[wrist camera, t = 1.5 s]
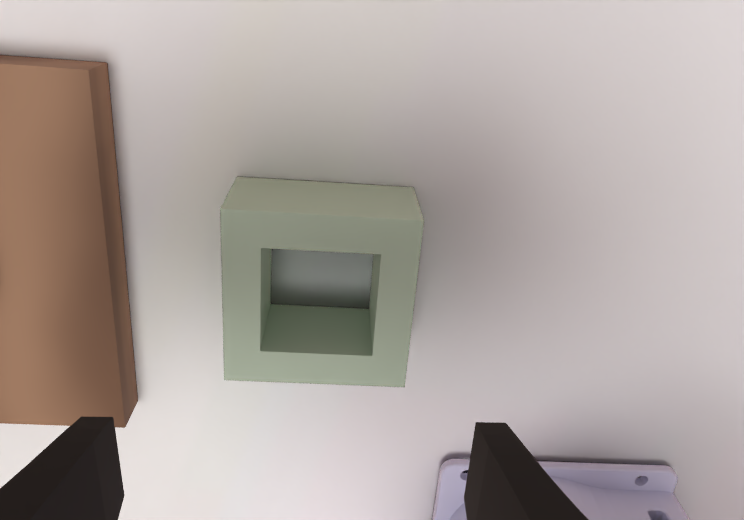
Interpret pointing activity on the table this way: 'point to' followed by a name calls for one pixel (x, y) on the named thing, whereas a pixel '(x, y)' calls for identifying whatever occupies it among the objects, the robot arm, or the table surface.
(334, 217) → the collar
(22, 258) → the peg base
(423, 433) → the table surface
